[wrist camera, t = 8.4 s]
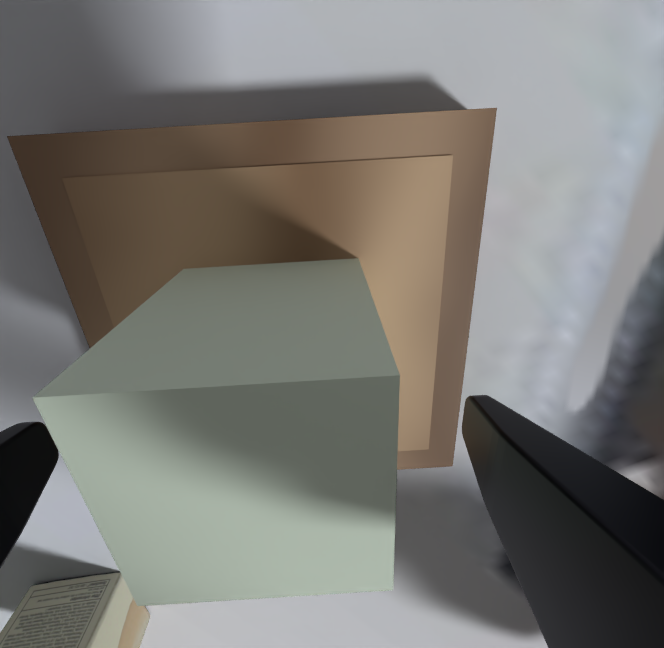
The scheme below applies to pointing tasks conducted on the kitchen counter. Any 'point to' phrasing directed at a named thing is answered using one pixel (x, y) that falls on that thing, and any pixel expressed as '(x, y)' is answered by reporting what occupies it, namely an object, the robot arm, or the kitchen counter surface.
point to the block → (239, 435)
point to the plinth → (284, 226)
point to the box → (77, 615)
